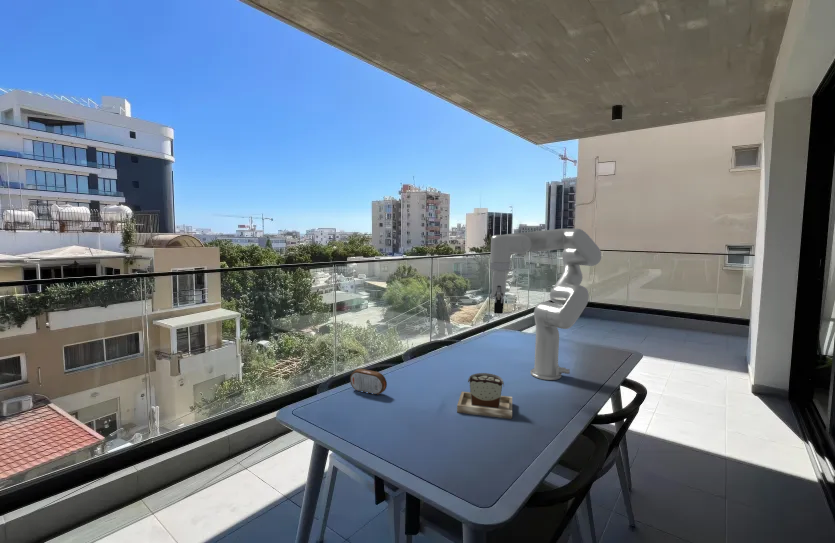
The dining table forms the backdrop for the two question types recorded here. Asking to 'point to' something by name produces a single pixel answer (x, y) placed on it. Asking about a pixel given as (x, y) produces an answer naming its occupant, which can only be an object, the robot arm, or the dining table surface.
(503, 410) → the holder tray
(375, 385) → the tin
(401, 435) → the dining table surface
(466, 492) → the dining table surface
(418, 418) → the dining table surface
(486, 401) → the food container
